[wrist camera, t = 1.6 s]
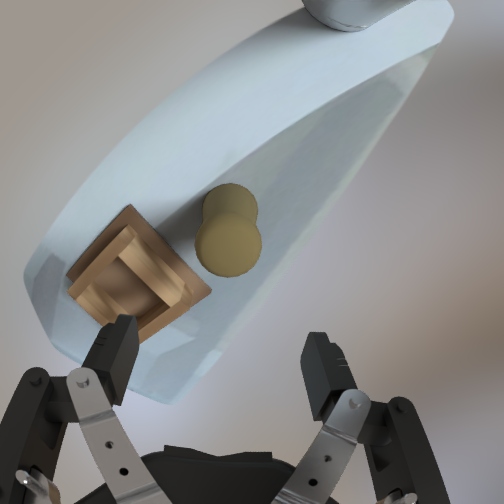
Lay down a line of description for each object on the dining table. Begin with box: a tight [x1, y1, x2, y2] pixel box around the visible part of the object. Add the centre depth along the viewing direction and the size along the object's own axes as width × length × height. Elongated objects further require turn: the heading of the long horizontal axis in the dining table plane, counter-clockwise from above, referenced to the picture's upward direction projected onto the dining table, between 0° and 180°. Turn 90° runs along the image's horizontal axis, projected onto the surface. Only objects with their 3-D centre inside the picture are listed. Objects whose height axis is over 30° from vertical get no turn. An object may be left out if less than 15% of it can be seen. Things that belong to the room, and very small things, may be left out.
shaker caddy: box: [67, 204, 212, 344], centre depth 32 cm, size 14×14×4 cm
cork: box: [195, 183, 262, 278], centre depth 26 cm, size 6×6×11 cm
